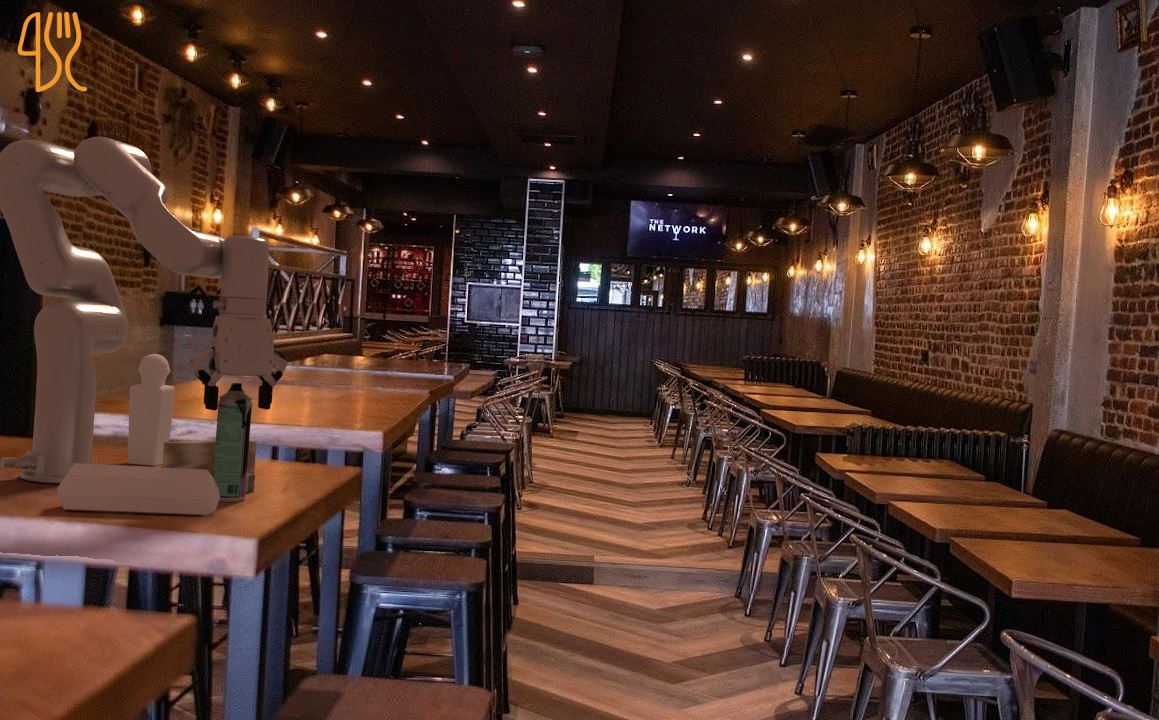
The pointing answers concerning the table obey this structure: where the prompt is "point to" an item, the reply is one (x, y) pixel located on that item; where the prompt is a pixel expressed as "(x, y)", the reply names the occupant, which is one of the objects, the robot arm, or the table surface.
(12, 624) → the table surface
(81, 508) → the chamfered beige bar
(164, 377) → the beige square bottle
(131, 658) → the table surface
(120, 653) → the table surface
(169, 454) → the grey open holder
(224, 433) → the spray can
